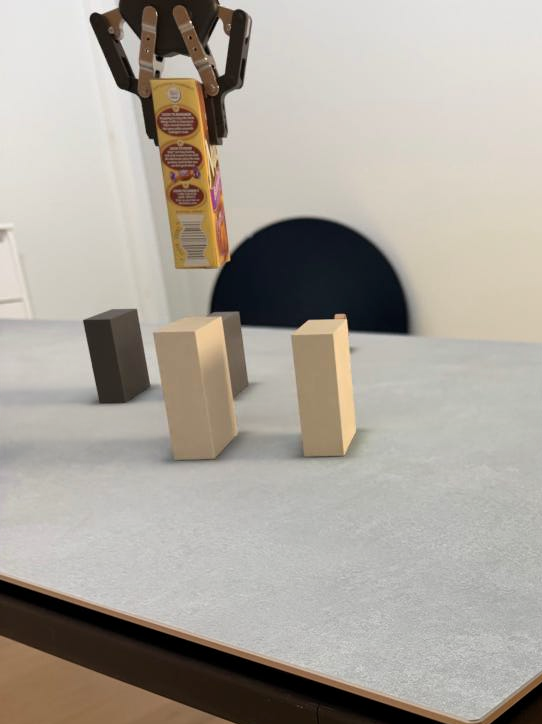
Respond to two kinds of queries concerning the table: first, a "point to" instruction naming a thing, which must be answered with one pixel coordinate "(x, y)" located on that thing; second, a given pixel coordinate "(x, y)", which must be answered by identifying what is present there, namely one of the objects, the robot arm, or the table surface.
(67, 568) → the table surface
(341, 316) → the perforated watch strap
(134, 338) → the grey rectangular blocks
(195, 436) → the beige blocks
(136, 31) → the robot arm
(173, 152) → the candy box
